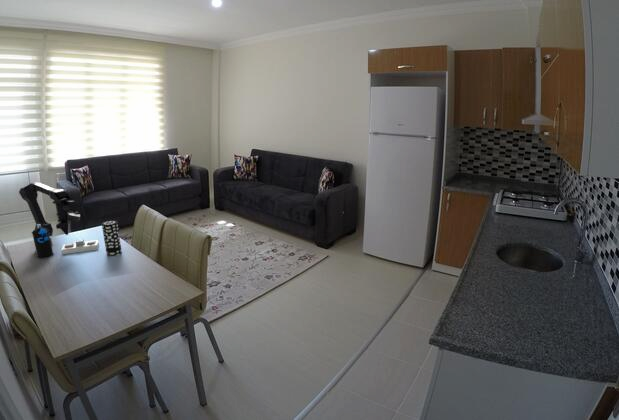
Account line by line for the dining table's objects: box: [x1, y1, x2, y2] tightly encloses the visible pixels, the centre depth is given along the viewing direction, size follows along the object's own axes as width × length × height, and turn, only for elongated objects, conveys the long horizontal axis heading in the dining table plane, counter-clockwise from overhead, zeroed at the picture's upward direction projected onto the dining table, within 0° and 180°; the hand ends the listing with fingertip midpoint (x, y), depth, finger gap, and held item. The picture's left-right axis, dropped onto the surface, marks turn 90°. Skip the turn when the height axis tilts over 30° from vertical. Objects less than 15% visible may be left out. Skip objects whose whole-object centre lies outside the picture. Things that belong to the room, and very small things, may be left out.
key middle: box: [75, 238, 85, 246], centre depth 227 cm, size 4×4×3 cm
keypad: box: [61, 239, 100, 255], centre depth 228 cm, size 19×9×3 cm, turn 116°
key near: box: [64, 242, 74, 248], centre depth 225 cm, size 4×4×3 cm
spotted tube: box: [101, 220, 123, 257], centre depth 219 cm, size 8×8×20 cm
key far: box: [86, 239, 96, 245], centre depth 230 cm, size 4×4×3 cm
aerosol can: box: [31, 224, 55, 259], centre depth 215 cm, size 8×8×20 cm
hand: (67, 234), depth 222 cm, fingers closed
